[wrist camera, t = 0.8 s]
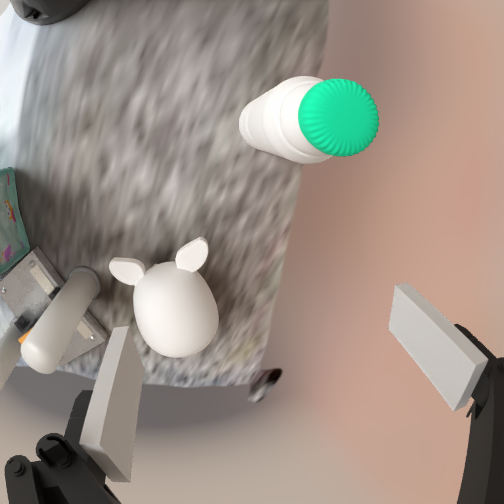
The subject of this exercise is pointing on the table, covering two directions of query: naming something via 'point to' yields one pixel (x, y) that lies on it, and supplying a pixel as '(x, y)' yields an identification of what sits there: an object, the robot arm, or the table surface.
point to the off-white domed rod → (60, 321)
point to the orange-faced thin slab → (27, 331)
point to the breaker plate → (45, 302)
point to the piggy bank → (172, 301)
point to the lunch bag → (10, 223)
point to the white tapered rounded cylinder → (9, 351)
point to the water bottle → (311, 119)
